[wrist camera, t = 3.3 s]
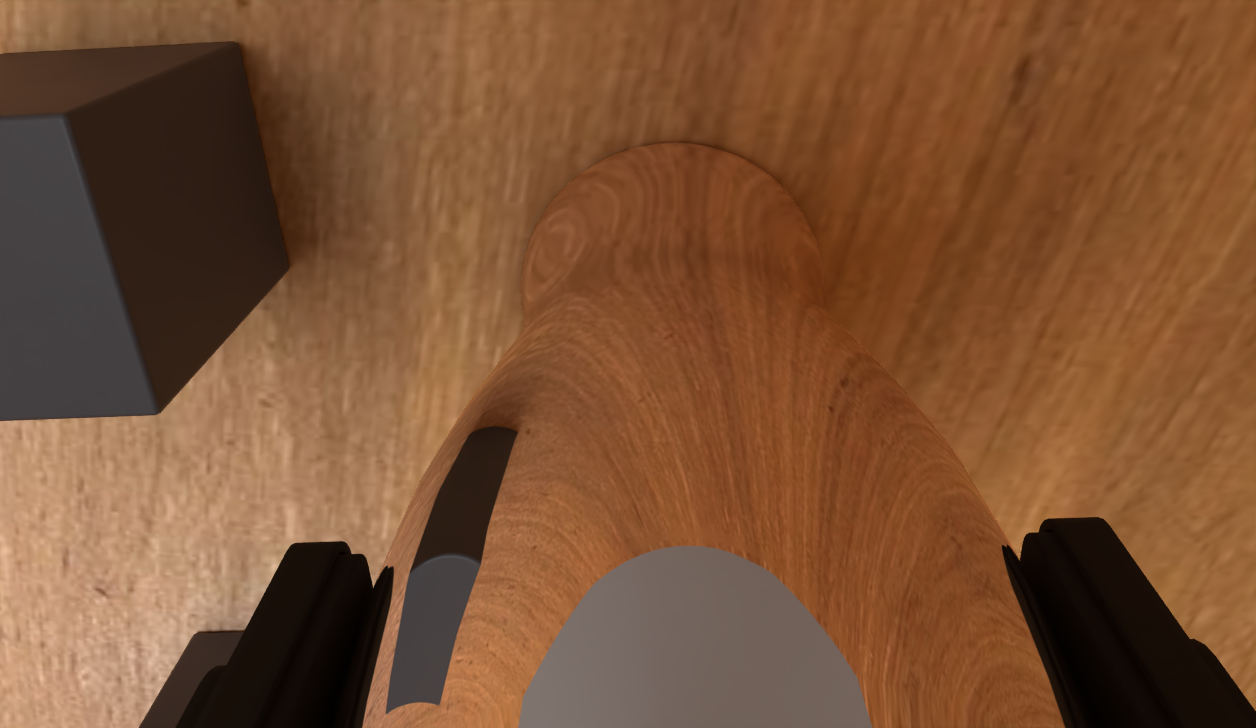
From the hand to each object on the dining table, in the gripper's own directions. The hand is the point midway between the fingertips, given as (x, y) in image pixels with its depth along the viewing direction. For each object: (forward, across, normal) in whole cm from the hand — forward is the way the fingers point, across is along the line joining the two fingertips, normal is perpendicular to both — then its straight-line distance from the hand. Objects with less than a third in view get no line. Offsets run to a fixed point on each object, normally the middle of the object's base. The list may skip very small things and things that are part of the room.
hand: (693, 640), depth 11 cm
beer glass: (+10, 0, 0) cm, 10 cm away
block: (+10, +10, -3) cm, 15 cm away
